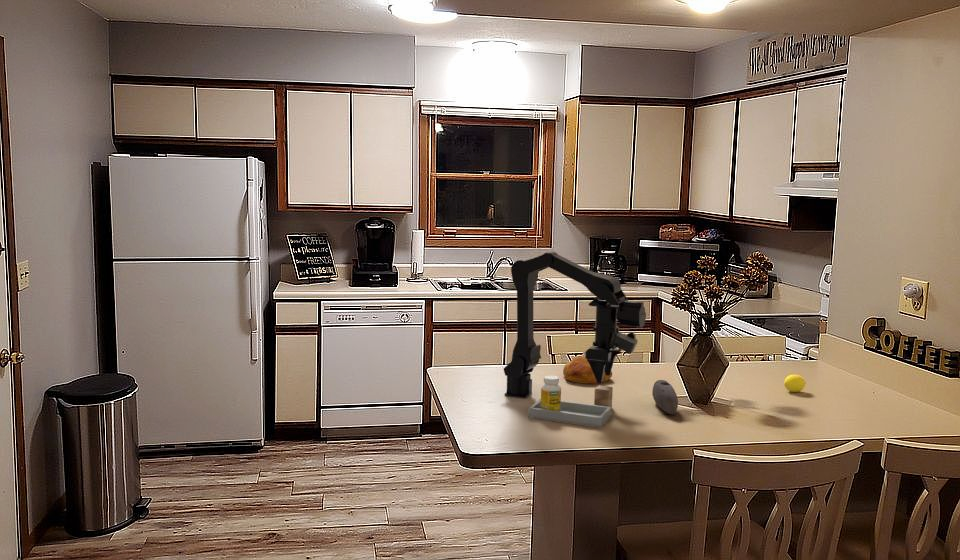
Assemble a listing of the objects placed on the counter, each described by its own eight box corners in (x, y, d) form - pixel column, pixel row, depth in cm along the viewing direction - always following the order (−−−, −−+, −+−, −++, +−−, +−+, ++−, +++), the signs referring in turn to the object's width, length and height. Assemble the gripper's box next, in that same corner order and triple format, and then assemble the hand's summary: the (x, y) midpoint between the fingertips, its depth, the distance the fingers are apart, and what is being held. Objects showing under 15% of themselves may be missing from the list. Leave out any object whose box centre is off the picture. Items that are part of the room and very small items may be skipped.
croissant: (576, 377, 264) (574, 353, 264) (618, 378, 255) (617, 353, 254) (553, 385, 252) (551, 360, 252) (597, 386, 243) (595, 360, 243)
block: (593, 410, 220) (594, 388, 219) (597, 406, 224) (598, 385, 223) (608, 411, 218) (609, 390, 218) (611, 408, 222) (612, 387, 221)
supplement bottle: (552, 408, 218) (553, 373, 217) (564, 413, 214) (565, 378, 213) (536, 411, 215) (537, 376, 214) (548, 416, 211) (549, 380, 210)
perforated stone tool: (682, 418, 214) (683, 393, 213) (662, 418, 214) (664, 392, 213) (668, 402, 229) (670, 378, 228) (650, 402, 229) (651, 378, 228)
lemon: (788, 394, 239) (789, 377, 239) (779, 389, 245) (780, 372, 244) (809, 394, 240) (811, 376, 240) (800, 389, 246) (801, 372, 245)
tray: (528, 417, 212) (528, 408, 211) (541, 407, 221) (541, 398, 221) (600, 427, 204) (601, 418, 204) (611, 416, 214) (611, 407, 213)
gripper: (627, 332, 206) (625, 391, 208) (642, 320, 223) (640, 375, 225) (585, 328, 210) (583, 385, 213) (603, 316, 228) (601, 370, 230)
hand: (603, 379), depth 220 cm, fingers open, 9 cm apart
